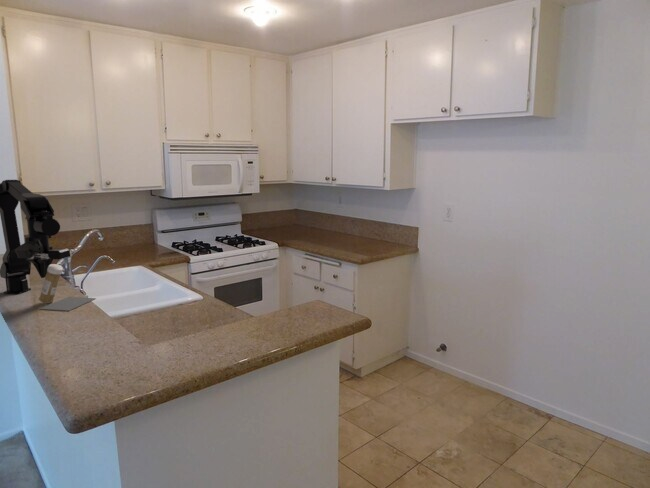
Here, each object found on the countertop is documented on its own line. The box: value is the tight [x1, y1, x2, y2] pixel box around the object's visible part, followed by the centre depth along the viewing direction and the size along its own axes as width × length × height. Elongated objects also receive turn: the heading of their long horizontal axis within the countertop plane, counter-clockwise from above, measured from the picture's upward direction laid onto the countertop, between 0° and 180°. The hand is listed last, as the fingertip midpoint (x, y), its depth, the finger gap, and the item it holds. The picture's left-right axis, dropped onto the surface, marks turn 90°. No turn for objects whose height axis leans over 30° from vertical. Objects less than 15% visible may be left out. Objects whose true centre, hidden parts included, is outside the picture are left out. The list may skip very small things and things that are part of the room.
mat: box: [39, 296, 97, 312], centre depth 162 cm, size 11×14×1 cm
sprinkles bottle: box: [38, 263, 64, 304], centre depth 161 cm, size 5×5×14 cm
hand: (43, 277), depth 161 cm, fingers closed
